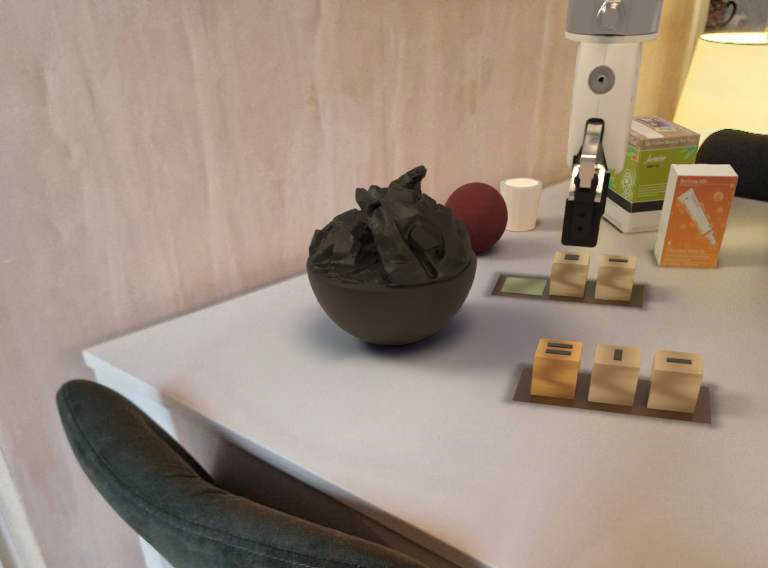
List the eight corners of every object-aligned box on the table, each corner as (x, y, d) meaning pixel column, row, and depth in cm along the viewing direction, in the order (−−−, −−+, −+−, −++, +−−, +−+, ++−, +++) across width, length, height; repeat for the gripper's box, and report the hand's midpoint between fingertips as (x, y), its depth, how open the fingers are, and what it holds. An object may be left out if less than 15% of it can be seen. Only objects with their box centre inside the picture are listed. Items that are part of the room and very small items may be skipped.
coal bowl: (368, 392, 84) (360, 218, 73) (285, 331, 98) (267, 175, 86) (507, 344, 93) (519, 181, 81) (412, 294, 106) (411, 148, 95)
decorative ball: (437, 260, 116) (438, 192, 110) (445, 238, 124) (446, 173, 118) (503, 262, 115) (508, 193, 109) (507, 240, 123) (511, 174, 116)
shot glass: (496, 232, 126) (499, 187, 122) (498, 219, 131) (501, 176, 127) (538, 233, 125) (543, 188, 121) (538, 220, 130) (542, 176, 126)
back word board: (643, 288, 105) (650, 251, 102) (642, 311, 99) (649, 273, 96) (500, 277, 110) (502, 241, 107) (490, 298, 104) (492, 261, 101)
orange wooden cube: (578, 379, 84) (583, 341, 81) (573, 399, 81) (579, 360, 78) (536, 375, 85) (540, 337, 82) (530, 394, 82) (534, 355, 79)
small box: (658, 269, 111) (676, 174, 103) (652, 254, 116) (670, 162, 108) (716, 271, 110) (739, 175, 102) (708, 255, 115) (730, 163, 107)
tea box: (588, 209, 134) (601, 116, 125) (642, 205, 135) (658, 112, 126) (625, 236, 122) (641, 136, 113) (683, 231, 124) (704, 131, 115)
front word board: (708, 390, 82) (719, 347, 79) (710, 428, 76) (723, 383, 73) (523, 370, 87) (526, 329, 84) (511, 404, 81) (515, 361, 78)
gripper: (658, 29, 55) (618, 263, 66) (661, 9, 69) (627, 206, 79) (554, 28, 57) (531, 255, 68) (576, 8, 70) (554, 201, 81)
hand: (583, 229), depth 73 cm, fingers open, 9 cm apart
